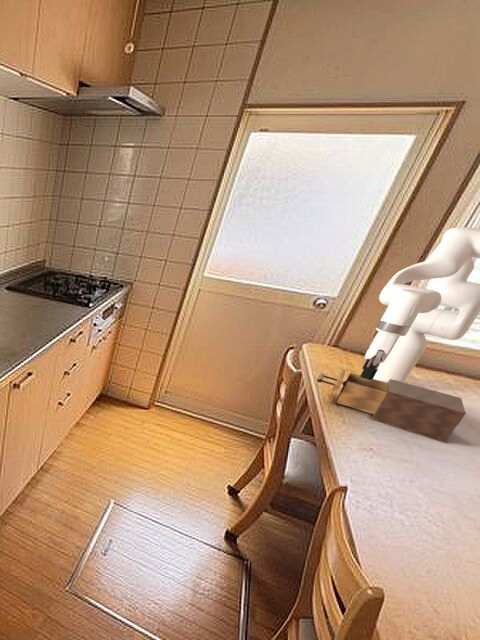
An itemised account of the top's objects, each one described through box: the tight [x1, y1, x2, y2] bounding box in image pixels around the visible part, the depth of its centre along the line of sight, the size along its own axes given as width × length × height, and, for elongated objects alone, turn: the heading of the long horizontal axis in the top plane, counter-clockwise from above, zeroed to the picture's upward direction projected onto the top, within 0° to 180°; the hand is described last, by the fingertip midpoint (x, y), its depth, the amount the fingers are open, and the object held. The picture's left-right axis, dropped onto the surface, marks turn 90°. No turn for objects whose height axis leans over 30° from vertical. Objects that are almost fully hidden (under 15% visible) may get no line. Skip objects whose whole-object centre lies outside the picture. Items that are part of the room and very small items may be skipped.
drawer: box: [316, 368, 388, 415], centre depth 149 cm, size 22×14×9 cm, turn 46°
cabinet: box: [371, 379, 467, 443], centre depth 139 cm, size 18×15×11 cm
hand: (366, 374), depth 146 cm, fingers open, 9 cm apart
